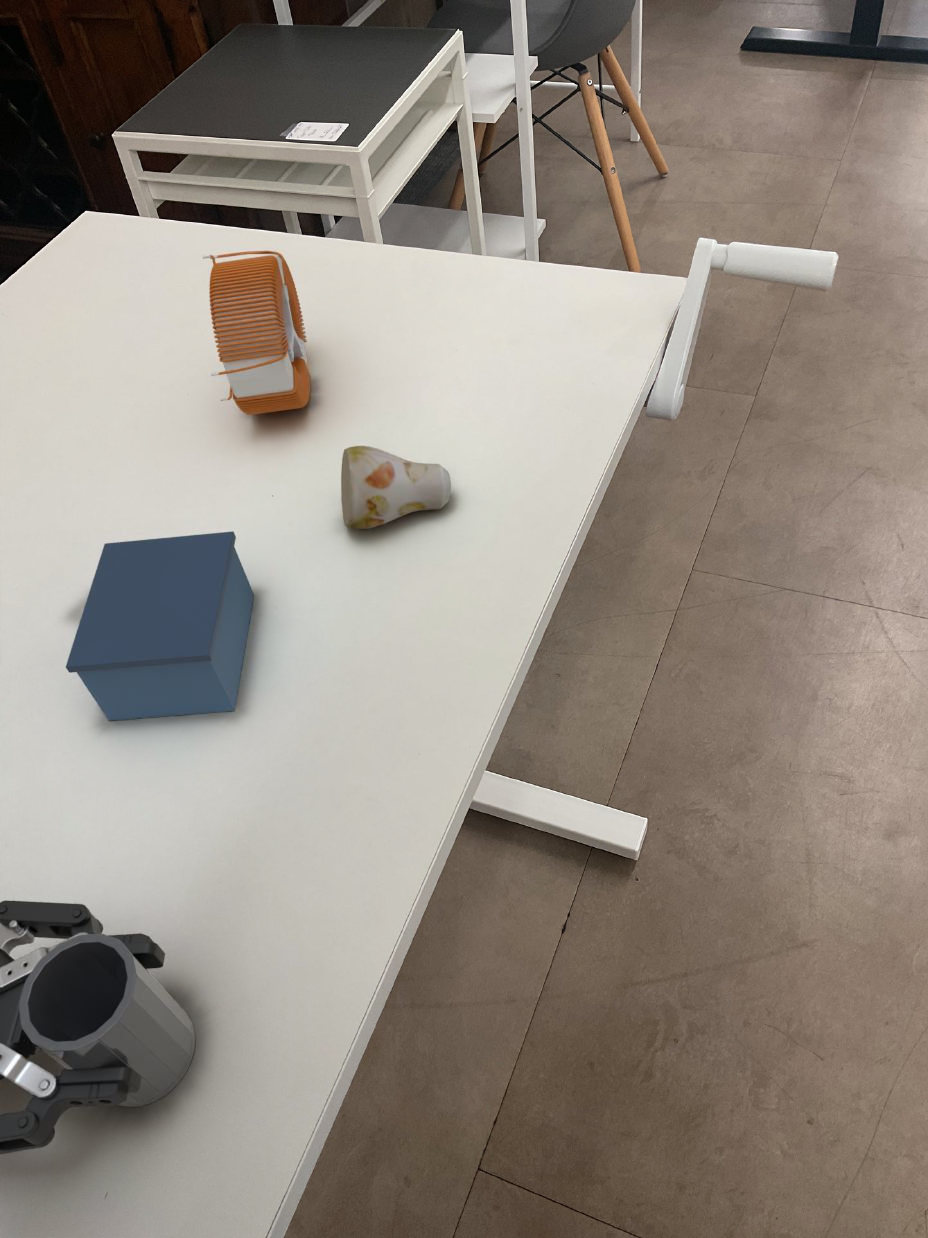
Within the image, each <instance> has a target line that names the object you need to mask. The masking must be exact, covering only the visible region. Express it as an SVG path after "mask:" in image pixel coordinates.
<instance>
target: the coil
mask: <svg viewBox="0 0 928 1238" xmlns="http://www.w3.org/2000/svg"><path fill="white" fill-rule="evenodd" d="M245 255H260V256H253V257H247V258H240V259H234V260H233V259H232V260H226V261H221V262H217V261H216V259H221V258H230V257H238V256H245ZM202 259H210V260H212V264H213V265H212V266H211V267H212V268H211V270H210V276H209V292H208V294H209V306H210V308H209V309H210V315H211V324H212V325H213V326H212V329H213V334H214V336H213V337H214V339H216V340H215V341H214V343H216V345H215V347H216V348H217V349H216V352H217V353H218V354H217V356H218V358H219V362H220V363H222V365H223V368H224V371H217V372H211V373H210V375H211V377H217V376H221V375H226V378H227V381H228V383H229V396H228V397H222V398H220V402H227V401H230V400H233V401H234V403H235V404H236V406H237V407H238V409H239V410H240V411H241V412H243V414H245V415H250V416H252V415H253V416H254V415H259V414H265V413H267V414H268V413H274V412H281V411H288V410H295V409H303V408H304V407H306V406H307V404H308V403H309V400H310V397H311V374H310V371H309V368H308V358H307V350H306V343H307V342H308V339H306V338H307V335H305V334H306V331H305V329H306V328H305V327H304V325H305V323H304V319H303V314H302V310H301V309H302V308H301V303H300V299H299V295H298V291H297V288H296V284H295V281H294V278H293V275H292V272H291V270H290V267H289V265H288V262H287V260H286V259H285V257H284V255H283V254H281V253H280V252H278V251H272V250H252V251H251V250H249V251H248V250H247V251H241V252H232V253H225V254H218V255H212V254H207V255H202Z"/></svg>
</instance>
